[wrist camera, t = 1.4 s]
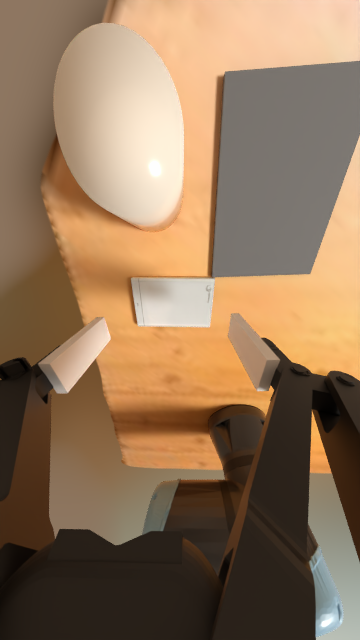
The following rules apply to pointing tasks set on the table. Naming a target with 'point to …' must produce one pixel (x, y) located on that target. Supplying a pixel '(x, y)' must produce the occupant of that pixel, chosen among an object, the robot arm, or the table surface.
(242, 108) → the mat
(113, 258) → the table surface
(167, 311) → the hard drive
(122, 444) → the table surface
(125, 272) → the table surface
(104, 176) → the cream rounded cylinder
